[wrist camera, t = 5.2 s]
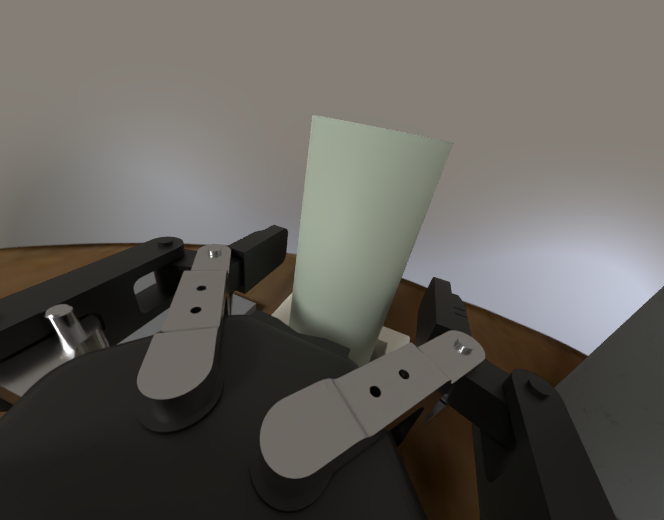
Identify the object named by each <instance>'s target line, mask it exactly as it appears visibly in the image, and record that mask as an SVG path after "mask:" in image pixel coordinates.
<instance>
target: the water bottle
mask: <svg viewBox="0 0 664 520" xmlns="http://www.w3.org/2000/svg"><path fill="white" fill-rule="evenodd" d="M555 389H556V391H557V392H558V393H559V394H560V396H561V397H562V399H563V401H564V404H565V406H566V408H567V410H568V412H569V415H570V417H571V419H572V421H573V423H574V426H575V428H576V430H577V432H578V434H579V437H580V439H581V441H582V443H583V445H584V448H585V450H586V452H587V454H588V456H589V459H590V461H591V463H592V465H593V468H594V470H595V472H596V474H597V476H598V479H599V481H600V483H601V485H602V487H603V490H604V492H605V494H606V496H607V498H608V501H609V503H610V505H611V507H612V509H613V512H614V514H615V516H616V518H617V520H664V286H663V287H662V289H660V290H659V291H658V292H657V293H656V294H655V295H654V296H653V297H652V298H651V299H649V300H648V301H647V302H646V303H645V304H644V305H643V306H642V307H641V308H640V309H639V310H637V312H635V313H634V314H633V315H632V316H631V317H630V318H629V319H628V320H627V321H626V322H625V323H624V324H622V325H621V326H620V327H619V328H618V329H617V330H616V331H615V332H614V333H613V334H612V335H611V336H609V337H608V338H607V339H606V340H605V341H604V342H603V343H602V344H601V345H600V346H599V347H598V348H597V349H595V350H594V351H593V352H592V353H591V354H590V355H589V356H588V357H587V358H586V359H585V360H584V361H583V362H581V363H580V364H579V365H578V366H577V367H576V368H575V369H574V370H573V371H572V372H571V373H570V374H569V375H567V376H566V377H565V378H564V379H563V380H562V381H561V382H560V383H559V384H558V385H557V386H556V387H555Z"/></svg>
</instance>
